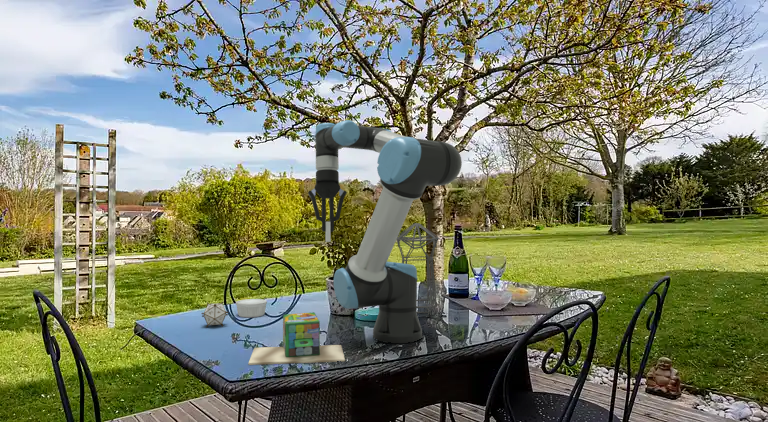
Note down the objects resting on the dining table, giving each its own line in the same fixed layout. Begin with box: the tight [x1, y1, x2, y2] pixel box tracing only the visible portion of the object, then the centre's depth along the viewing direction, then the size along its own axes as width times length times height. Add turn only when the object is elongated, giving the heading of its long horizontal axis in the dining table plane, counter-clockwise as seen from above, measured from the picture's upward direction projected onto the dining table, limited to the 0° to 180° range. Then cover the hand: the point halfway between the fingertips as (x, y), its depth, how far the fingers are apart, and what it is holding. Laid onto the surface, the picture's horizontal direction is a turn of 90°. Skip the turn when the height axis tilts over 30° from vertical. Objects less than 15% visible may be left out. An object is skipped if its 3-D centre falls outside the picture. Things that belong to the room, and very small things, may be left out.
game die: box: [201, 301, 229, 328], centre depth 161 cm, size 9×8×10 cm
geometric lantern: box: [396, 222, 441, 316], centre depth 182 cm, size 16×16×35 cm
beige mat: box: [248, 344, 346, 366], centre depth 129 cm, size 24×14×1 cm, turn 99°
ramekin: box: [235, 298, 268, 319], centre depth 180 cm, size 11×11×5 cm
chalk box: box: [282, 311, 321, 357], centre depth 130 cm, size 9×9×15 cm
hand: (328, 241), depth 158 cm, fingers closed
